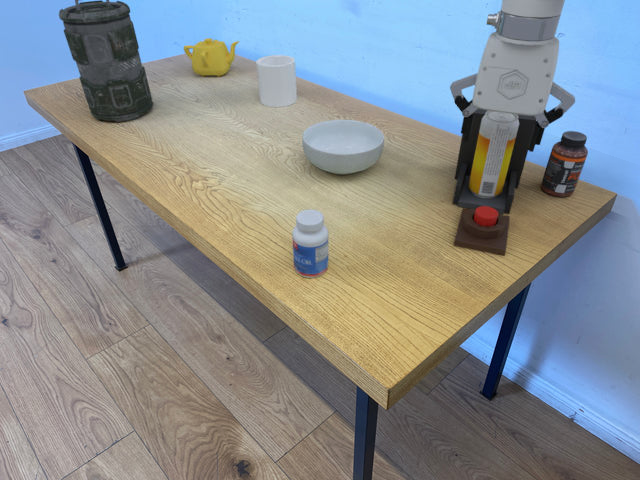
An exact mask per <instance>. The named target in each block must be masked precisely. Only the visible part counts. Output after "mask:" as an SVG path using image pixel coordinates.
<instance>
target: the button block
mask: <svg viewBox="0 0 640 480" xmlns="http://www.w3.org/2000/svg"><path fill="white" fill-rule="evenodd" d="M476 209H477V208H476ZM476 209H469V208H463V207H462V209H461V214H460V218H459V221H458V225H457V229H456V233H455V237H454V241H453V246H454V247H458V248H459V247H460V248H464V249H468V250H474V251H478V252H479V251H480V252H484V253H488V254H494V255H499V256H505V255H506V252H507V247H508V236H509V228H510V220H511V219H510V217H511V216H509V215H504V214H500V213H498V217H497V221H496V224H495V225H494V226H488V227H487V226H482V225H479V224H477V223H475V221H474V215H475V210H476Z"/></svg>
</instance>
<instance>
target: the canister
mask: <svg viewBox="0 0 640 480" xmlns="http://www.w3.org/2000/svg"><path fill="white" fill-rule="evenodd" d="M79 1H80V0H74V3H75V5H71V6H67V7H64V9H63V8H61V9H59V11H58V17H59V20H61V21H62V23H63V24H62V25H63V28H64V29H63V33H64V37H65V40H66V42H67V46H68V48H69V51H70V55H71V58H72V60H73V61H74V62H75V64H76V68H77V70H78V73H79V80H80V84H81V88H82V90H83V93H84V97H85V99H86V102H87V105H88V108H89V110H90V114H91V116H92V117H93V118H94V119H95V120H98V121H100V122H103V121H110V122H115V123H123V122H128V121H133V120H136V119H139V117H140V116H143V115H144V114H146V113H147V112H148V111H150V110H151V109H152V108H153V105H154V103H153V97H152V92H151V88H150V85H149V81H148V77H147V73H146V68H145V66H143V63H142V59H141V55H140V51H139V49H140V46H139V42H138V39H137V33H136V29H135V26H134V22H133V21H132V19H131V15H130V13H131V8H130V6H129V5H128V3H126V2H124V1H121V0H116V1H110V0H105V1H103V0H93V1H92V0H89V1H82V2H79Z"/></svg>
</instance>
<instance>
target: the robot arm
mask: <svg viewBox="0 0 640 480" xmlns="http://www.w3.org/2000/svg"><path fill="white" fill-rule="evenodd" d="M565 2H566V0H502V2H501V6H500V11H497V13H494V14H493V13H488V15H487V19H486V25H487V26H491V27H494V29H495V31H494V32H491V33H490V35H489V36H488V39H487V40H486V44H485V46H484V49H483V53H482V55H481V58H480V62H479V67H478V70H477V73H474V74H471V75H468V76H465V77H462V78H460V79H457V80H454V81H452V82H451V84H450V86H449V90H450V93H451V96H452V98H453V100H454V104H455V105H456V107H457V108H458V109H459V111H460V112H461V115H462V117H463V119H462V123H461V128H460V129H461V130H460V134H461V135H462V134H465V136H464V142H467V141H469V138H470V134H471V130H472V125H473V120H474V115H475V113H474V112H475V111H476V110H477V109H482V110H488V111H495V112H502V113H510V114H518V115H526V116H535V118H536V121H535V124H534V127H533V131H532V134H531V138H530V141H529V148H528V152H532V153H534V151H535V147H536V146H540V145H541V142H542V140H543V136H544V134H545V130H546V128H548V127H549V125H550V124H552V123H554V122H556V121H558V120H559V119H561V118H562V117H563V116H564V114H566V113H567V112H568V111H569V110H570V108H572V107H573V106H574V105H575V103H576V97H575V95H574V94H572V93H570V92H569V91H567V89H565V88H563V87H561V86H560V85H559V84H557V83H556V82H554V79H555V74H556V69H557V64H558V58H559V51H560V40H559V38H558V37H556V34H557V29H558V26H559V23H560V19H561V16H562V12H563V7H564V5H565ZM472 86H474V87H473V92H472V99H470V100H468V99H467V98H466V97H465V95H464V94H463V90H464V89H467V88H470V87H472ZM550 95H551V96H553V97H554V98H556V100H559V103H558V105H557V106H555V107H554V108H552V109H550V110H548V111H547V110H546V108H547V105H548V101H549V98H550Z"/></svg>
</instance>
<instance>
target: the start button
mask: <svg viewBox="0 0 640 480" xmlns="http://www.w3.org/2000/svg"><path fill="white" fill-rule="evenodd" d="M497 217H498V212H497V210H495V209H494V208H491V207H488V206H481V207H478V208H477V209H476V210H475V215H474V221H475V223H477V224H479V225H482V226H487V227H488V226H494V225H495V224H496V221H497Z"/></svg>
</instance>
